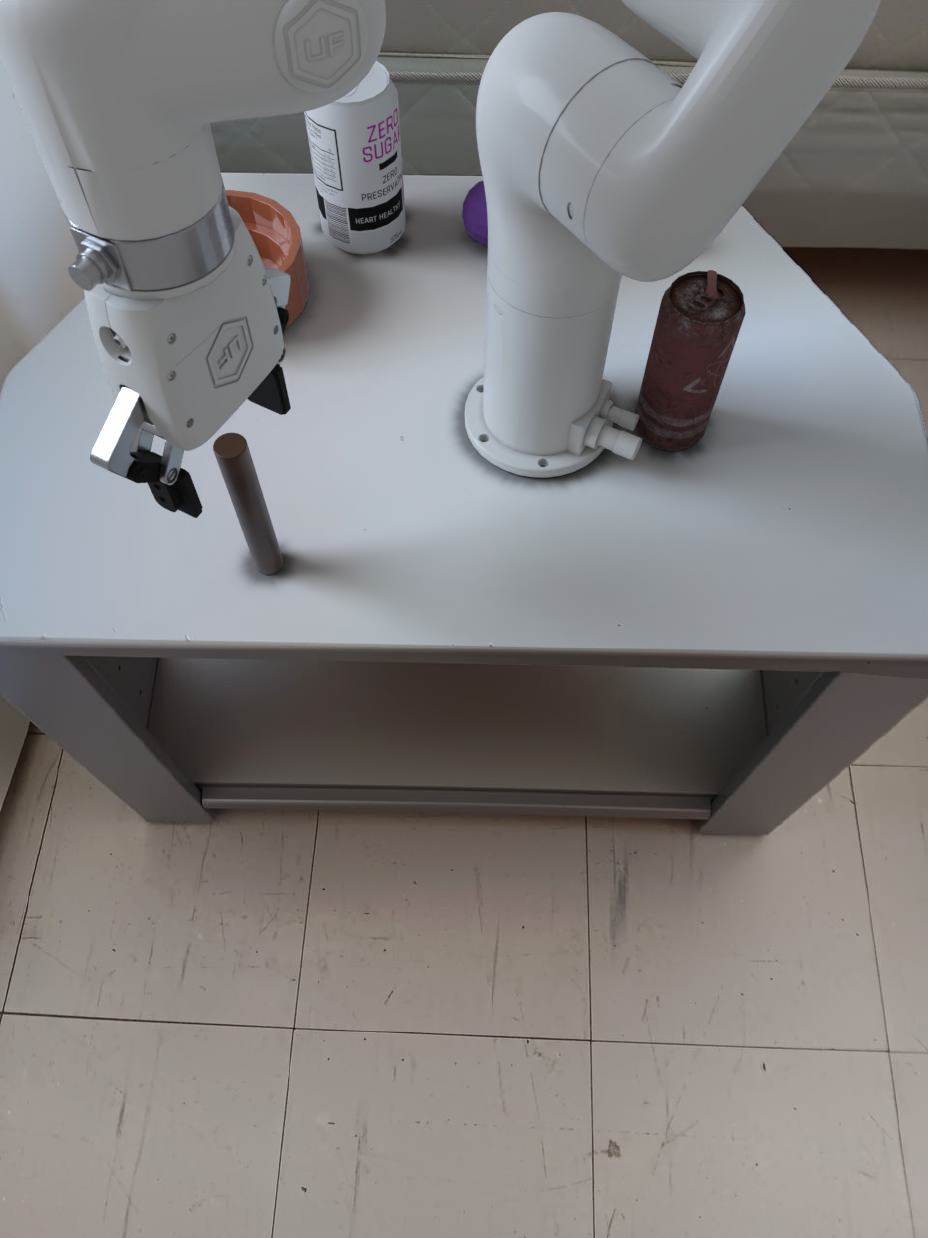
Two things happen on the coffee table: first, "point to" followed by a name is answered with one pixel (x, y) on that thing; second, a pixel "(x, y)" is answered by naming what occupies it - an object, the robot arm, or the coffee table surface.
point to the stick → (248, 501)
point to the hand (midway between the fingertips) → (226, 453)
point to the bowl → (275, 242)
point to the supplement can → (359, 165)
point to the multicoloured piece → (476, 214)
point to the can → (688, 358)
